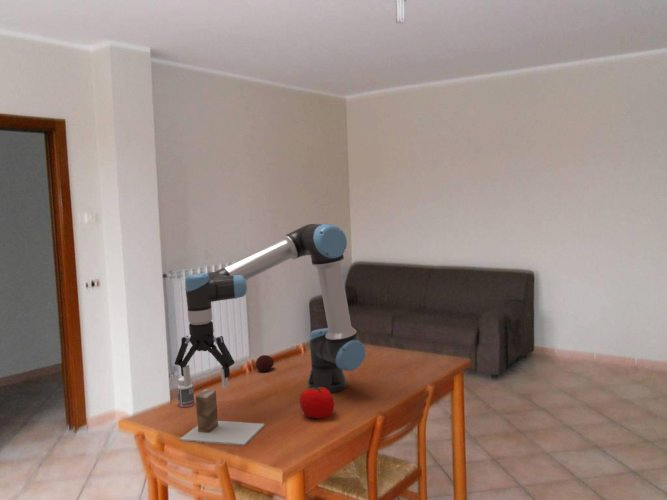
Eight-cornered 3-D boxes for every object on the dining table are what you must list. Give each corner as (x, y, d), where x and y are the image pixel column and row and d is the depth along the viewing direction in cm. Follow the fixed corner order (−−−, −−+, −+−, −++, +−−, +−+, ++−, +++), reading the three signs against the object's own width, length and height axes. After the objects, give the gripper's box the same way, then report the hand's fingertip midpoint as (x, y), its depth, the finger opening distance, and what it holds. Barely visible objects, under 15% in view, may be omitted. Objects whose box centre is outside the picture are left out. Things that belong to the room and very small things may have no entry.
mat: (265, 425, 193) (264, 423, 193) (244, 445, 177) (244, 443, 177) (205, 421, 199) (204, 419, 199) (179, 440, 184) (179, 438, 184)
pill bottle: (197, 402, 218) (195, 376, 217) (188, 408, 213) (187, 381, 212) (184, 401, 220) (182, 375, 219) (175, 406, 215) (173, 380, 214)
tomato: (325, 424, 191) (323, 394, 190) (293, 418, 198) (291, 388, 197) (343, 413, 200) (341, 384, 200) (312, 407, 207) (310, 379, 206)
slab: (218, 425, 193) (215, 389, 192) (209, 432, 187) (206, 396, 186) (207, 424, 194) (204, 389, 193) (198, 431, 188) (195, 395, 187)
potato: (278, 368, 258) (277, 353, 257) (265, 374, 251) (265, 358, 250) (265, 367, 262) (264, 351, 261) (252, 372, 254) (251, 356, 254)
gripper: (241, 319, 188) (246, 383, 190) (172, 319, 195) (178, 381, 197) (230, 324, 181) (236, 391, 183) (160, 324, 188) (166, 389, 190)
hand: (206, 386), depth 190 cm, fingers open, 13 cm apart
